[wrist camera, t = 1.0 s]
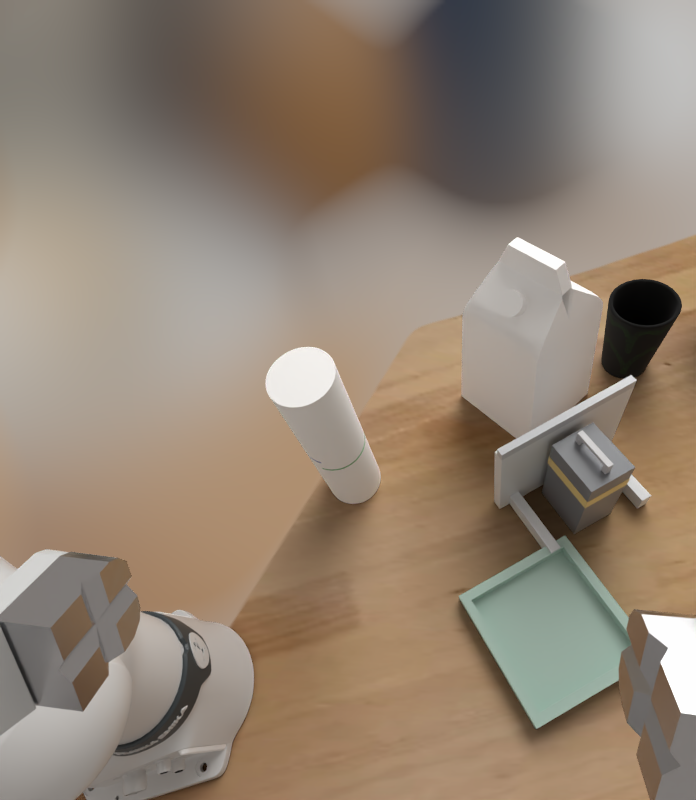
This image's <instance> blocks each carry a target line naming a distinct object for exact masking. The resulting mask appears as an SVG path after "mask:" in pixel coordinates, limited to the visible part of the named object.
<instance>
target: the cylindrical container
mask: <svg viewBox="0 0 696 800" xmlns="http://www.w3.org/2000/svg"><path fill="white" fill-rule="evenodd" d="M266 390H267V393H268V395H269V396H270V398H271V399H272V401H273V403H274V404H275V405H276V407H277V409H278V410H279V412H280V413H281V415H282V416H283V418H284V419H285V421H286V422H287V424H288V425H289V427H290V429H291V430H292V432H293V433H294V435H295V436H296V438H297V439H298V441H299V442H300V444H301V445H302V447H303V448H304V450H305V451H306V453H307V454H308V456H309V457H310V459H311V460H312V462H313V463H314V465H315V467H316V468H317V470H318V471H319V473H320V474H321V476H322V477H323V479H324V480H325V482H326V483H327V485H328V486H329V488H330V489H331V491H332V493H333V494H334V495H335V496H336V498H338V499H339V500H340V501H342V502H344V503H348V504H357V503H362V502H364V501H366V500H368V499H370V498H371V497H372V496H373V495H374V494H375V493H376V491H377V490H378V488H379V485H380V481H381V474H380V470H379V467H378V465H377V463H376V460H375V458H374V456H373V453H372V451H371V449H370V446H369V444H368V441H367V439H366V437H365V434H364V432H363V430H362V427H361V425H360V422H359V420H358V418H357V416H356V413H355V411H354V408H353V406H352V404H351V401H350V399H349V396H348V394H347V392H346V389H345V387H344V385H343V382H342V380H341V378H340V375H339V373H338V370H337V368H336V366H335V364H334V361H333V359H332V358H331V356H330V355H329V354H327V353H326V352H325V351H323V350H321V349H318V348H314V347H302V348H297V349H294V350H291V351H289V352H287V353H285V354H284V355H282V356H281V357H280V358H278V359H277V360H276V361H275V362H274V363H273V365H272V366H271V368H270V369H269V371H268V374H267V377H266Z"/></svg>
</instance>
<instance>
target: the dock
mask: <svg viewBox="0 0 696 800" xmlns="http://www.w3.org/2000/svg"><path fill="white" fill-rule="evenodd" d="M636 381H637V380H636V379H635V378H634V377H633V376H632V375H630V376H628V377H627V378H625V379H623V380H621V381H619V382H617V383H616V384H614V385H612V386H610V387H608V388H607V389H605V390H603V391H601V392H599V393H598V394H596V395H594V396H592V397H590V398H589V399H587V400H585V401H583V402H581V403H580V404H578V405H576V406H574V407H572V408H571V409H569V410H567V411H565V412H563V413H562V414H560V415H558V416H556V417H554V418H553V419H551V420H549V421H547V422H545V423H544V424H542V425H540V426H538V427H536V428H535V429H533V430H531V431H529V432H527V433H526V434H524V435H522V436H520V437H518V438H517V439H515V440H513V441H511V442H509V443H508V444H506V445H504V446H502V447H500V448H499V449H497V451H495V472H494V502H495V503H496V505H497V506H498V507H499V509H501V508H503V507H504V506H506V505H508V504H510V505H511V507H512V508H513V509H514V511H515V512H516V513H517V515H518V516H519V518H520V519H521V520H522V522H523V523H524V524H525V526H526V527H527V529H528V530H529V531H530V533H531V534H532V535H533V537H534V538H535V540H536V541H537V542H538V544H539V545H540V546H541V548H544V547H545V546H546V548H547V549H548V550H549V552H550V553H551V554H552V553H554V552H556V551H557V550H559V549H560V548H561V547H560V546H559V544H558V543H557V542H556V540H555V539H554V538H553V536H552V535H551V534H550V532H549V531H548V530H547V528H546V527H545V526H544V524H543V523H542V522H541V520H540V519H539V518H538V516H537V515H536V514H535V512H534V511H533V510H532V509H531V507H530V506H529V505H528V503H527V502H526V501H525V499H524V498H523V497H522V496H524V495H526V494H527V493H529V492H531V491H533V490H535V489H536V488H538V487H540V486H542V485H543V484H544V480H545V475H546V471H547V466H548V458H549V456H550V452H551V447H552V445H553V444H555V443H557V442H559V441H560V440H562V439H564V438H566V437H568V436H569V435H571V434H573V433H575V432H577V431H578V430H580V429H582V428H584V427H585V426H587V425H589V424H591V423H594V424H595V425H596V426H597V427H598V428H599V429H600V430H601V431H602V432H603V433H604V435H605V436H606V437H607V438H608V439H609V440H610V441H611V442H612V439H613V437H614V434H615V432H616V430H617V427H618V425H619V422H620V420H621V417H622V415H623V413H624V410H625V408H626V405H627V403H628V400H629V398H630V396H631V393H632V391H633V388H634V386H635V383H636ZM622 492H623V493H624V494H625V495H626V497H627V498H628V499H629V500H630V501H631V502H632V503H633V504H634V506H635V507H636V508H639V507H641V506H643V505H644V504H646V503H647V501H648V500H649V498H650V497H651V495H650V494H649V493H648V492H647V491H646V489H645V488H644V487H643V486H642V485H641V484H640V483H639V482H638V481H637V480H636V479H635V478H634V477H633V475H632V474H631V476H630V480H629V481H628V483H627V485H625V487H624V489H623V491H622Z"/></svg>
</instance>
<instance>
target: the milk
mask: <svg viewBox="0 0 696 800" xmlns="http://www.w3.org/2000/svg"><path fill="white" fill-rule="evenodd" d="M602 308H603V302H602V300H601V299H600V298H599V297H598V296H597V295H595V294H594V293H593V292H591V291H589V290H587V289H585V288H583V287H582V286H580V285H578V284H576V283H574V282H572V281H570V277H569V274H568V270H567V266H566V262H564V261H563V260H561V259H559V258H557V257H555V256H553V255H551V254H549V253H547V252H545V251H543V250H541V249H539V248H538V247H536V246H533V245H532V244H530V243H528V242H526V241H524V240H522V239H520V238H518V237H517V238H515V239H514V240H513V241H512V242H511V243H509V244H508V246H507V247H506V249H505V250H504V252H503V254H502V256H501V257H500V259H499V262H497V263H496V264H495V266H494V267H493V269H492V270H491V271H490V273H489V274H488V275H487V277H486V278H485V280H484V281H483V282H482V284H481V285H480V286H479V288H478V289H477V290H476V292H475V293H474V294H473V296H472V297H471V299H470V300H469V301H468V303H467V305H466V307H465V309H464V312H463V323H462V394H461V396H462V397H463V398H465V399H466V400H467V401H469V402H470V403H471V404H472V405H474V406H475V407H476V408H478V409H479V410H480V411H481V412H483V413H484V414H485V415H487V416H488V417H489V418H490V419H492V420H493V421H494V422H496V423H497V424H498V425H499V426H501V427H502V428H503V429H505V430H506V431H507V432H508V433H510V434H511V435H512V436H514V437H515V438H516V439H517V438H518V437H520V436H522V435H524V434H526V433H527V432H529V431H531V430H533V429H535V428H536V427H538V426H540V425H542V424H544V423H545V422H547V421H549V420H551V419H553V418H554V417H556V416H558V415H560V414H562V413H563V412H565V411H567V410H569V409H571V408H572V407H574V406H575V405H576V404H577V403H578V402H579V401H580V400H581V399H582V398H583V397H584V396H585V395H586V394H588V388H589V383H590V377H591V371H592V365H593V360H594V354H595V348H596V343H597V337H598V331H599V325H600V320H601V314H602Z"/></svg>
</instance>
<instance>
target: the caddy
mask: <svg viewBox="0 0 696 800" xmlns="http://www.w3.org/2000/svg"><path fill="white" fill-rule="evenodd" d="M634 469H635V466H634V465H633V464H632V463H631V462H630V461H629V460H628V459H627V458H626V457H625V456H624V455H623V454H622V453H621V452H620V451H619V449H618V448H617V447H616V446H615V445H614V444H613V443H612V442H611V441H610V440H609V439H608V438H607V437H606V436H605V435H604V433H603V432H602V431H601V430H600V429H599V428H598V427H597V426H596V425H595V424H594V423H591V424H589V425H587V426H585V427H584V428H582V429H580V430H578V431H577V432H575V433H573V434H571V435H569V436H568V437H566V438H564V439H562V440H560V441H559V442H557V443H555V444H553V445H552V447H551V452H550V456H549V458H548V466H547V471H546V475H545V480H544V485H543V489H542V494H543V495H544V497H545V498H546V499H547V500H548V502H549V503H550V504H551V506H552V507H553V508H554V509H555V511H556V512H557V513H558V515H559V516H560V517H561V518H562V520H563V521H564V522H565V523H566V525H567V526H568V527H569V529H570V530H571V531H572V532H573V534H576V533H577V532H579V531H581V530H583V529H584V528H586V527H588V526H589V525H591V524H593V523H595V522H596V521H598V520H600V519H602V518H603V517H605V516H607V515H609V514H610V513H611V511H612V509H613V507H614V506H615V504H616V502H617V500H618V498H619V496H620V495H621V493H622V491H623V489H624V487H625V485H627V483H628V481H629V480H630V476H631V474H632V472H633V471H634Z"/></svg>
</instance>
